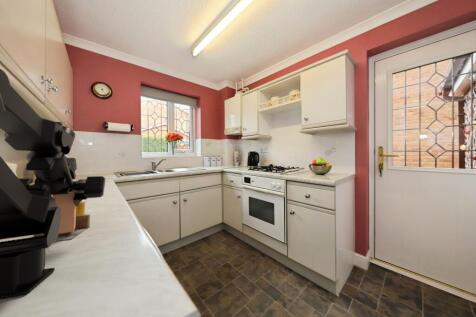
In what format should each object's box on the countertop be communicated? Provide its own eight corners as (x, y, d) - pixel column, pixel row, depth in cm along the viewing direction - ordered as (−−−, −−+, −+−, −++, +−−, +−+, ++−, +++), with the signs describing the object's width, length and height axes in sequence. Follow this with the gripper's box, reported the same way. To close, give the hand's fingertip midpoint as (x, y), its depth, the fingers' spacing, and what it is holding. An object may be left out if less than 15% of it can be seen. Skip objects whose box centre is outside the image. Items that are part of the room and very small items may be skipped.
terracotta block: (73, 231, 49) (75, 184, 49) (50, 235, 46) (52, 185, 47) (75, 226, 53) (77, 183, 53) (54, 229, 50) (56, 183, 50)
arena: (71, 239, 47) (71, 224, 47) (26, 243, 45) (27, 227, 45) (89, 227, 56) (89, 214, 56) (53, 229, 53) (53, 216, 53)
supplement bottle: (88, 218, 64) (89, 191, 64) (73, 223, 59) (74, 194, 59) (75, 217, 65) (75, 191, 65) (59, 223, 59) (59, 194, 59)
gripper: (105, 148, 51) (109, 182, 61) (7, 144, 42) (29, 185, 51) (100, 178, 44) (105, 211, 54) (-19, 181, 35) (12, 221, 44)
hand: (66, 206), depth 51 cm, fingers closed on terracotta block, 4 cm apart
